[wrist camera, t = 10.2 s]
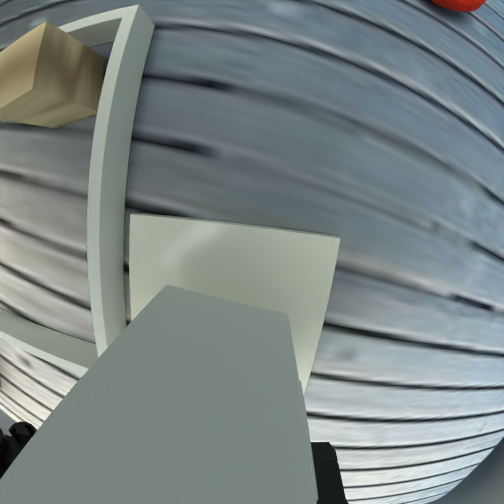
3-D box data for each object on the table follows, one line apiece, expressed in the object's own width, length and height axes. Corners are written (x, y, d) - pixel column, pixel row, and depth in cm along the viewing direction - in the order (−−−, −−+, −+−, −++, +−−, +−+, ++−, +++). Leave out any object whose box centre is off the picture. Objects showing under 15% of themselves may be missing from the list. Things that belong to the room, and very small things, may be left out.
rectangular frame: (-7, 75, 16) (-26, 70, 12) (155, 25, 15) (138, 4, 12) (-13, 309, 22) (-31, 319, 19) (130, 362, 22) (114, 385, 19)
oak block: (59, 77, 16) (-2, 53, 9) (104, 58, 16) (46, 20, 8) (55, 128, 18) (-14, 117, 10) (101, 112, 17) (32, 89, 10)
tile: (136, 212, 19) (130, 214, 18) (336, 235, 19) (340, 238, 18) (141, 373, 22) (137, 380, 21) (300, 396, 22) (301, 404, 21)
